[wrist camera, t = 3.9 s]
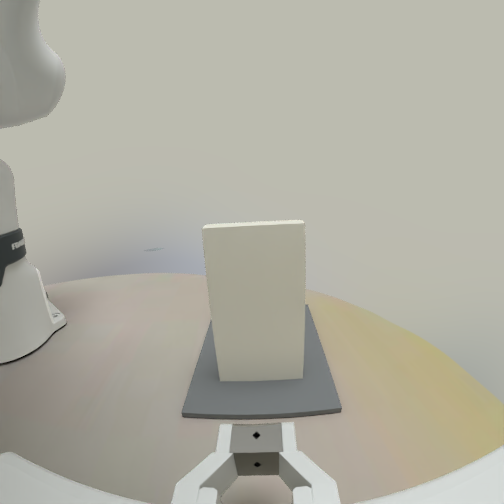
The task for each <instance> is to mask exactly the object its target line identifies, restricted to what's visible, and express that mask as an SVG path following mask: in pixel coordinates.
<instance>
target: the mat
mask: <svg viewBox="0 0 504 504" xmlns="http://www.w3.org/2000/svg"><path fill="white" fill-rule="evenodd" d="M341 409H342V407H341V403H340V400H339V397H338V394H337V391H336V388H335V385H334V381H333V378H332V375H331V372H330V369H329V366H328V363H327V360H326V357H325V354H324V351H323V348H322V345H321V342H320V339H319V336H318V333H317V330H316V327H315V325H314V322H313V319H312V316H311V313H310V310H309V307H308V305H305V337H304V364H303V378H301V379H287V380H267V381H220V377H219V371H218V364H217V357H216V350H215V343H214V335H213V328H212V320H211V322H210V325H209V328H208V331H207V334H206V337H205V341H204V344H203V347H202V350H201V353H200V356H199V359H198V362H197V365H196V368H195V372H194V375H193V378H192V381H191V384H190V387H189V390H188V394H187V397H186V400H185V403H184V406H183V410H182V415H183V417H194V418H215V419H265V418H286V417H300V416H311V415H320V414H329V413H337V412H341Z"/></svg>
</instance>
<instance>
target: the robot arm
mask: <svg viewBox="0 0 504 504" xmlns="http://www.w3.org/2000/svg"><path fill="white" fill-rule="evenodd" d="M39 2H40V0H0V129H1V128H7V127H13V126H19V125H22V124H25V123H28V122H31V121H34V120H37V119H40V118H43V117H46V116H48V115H49V114H50V113H51V112H52V111H53V109H54V108H55V107H56V105H57V103H58V102H59V100H60V98H61V96H62V93H63V90H64V86H65V68H64V65H63V62H62V60H61V59H60V57H59V56H58V55H57V54H56V53H55V52H54V51H53V50H52V49H51V48H50V47H49V46H48V45H47V43H46V42H45V40H44V38H43V36H42V34H41V31H40V28H39V22H38V8H39ZM25 254H26V249H25V240H24V237H23V233H22V230H21V229H20V228H19V226H18V218H17V209H16V199H15V187H14V177H13V173H12V171H11V169H10V167H9V166H8V165H7V164H6V163H5V162H4V161H2V160H1V159H0V363H4V362H8V361H12V360H15V359H17V358H20V357H22V356H24V355H26V354H28V353H30V352H32V351H33V350H35V349H37V348H38V347H39V346H41V345H42V344H43V343H44V342H45V341H46V340H47V339H48V338H49V337H50V336H51V334H52V333H53V332H54V331H56V330H58V329H59V328H61V327H62V326H64V325H65V324H66V323H67V321H66V318H65V316H64V315H63V314H62V313H61V312H60V311H59V310H58V309H57V308H56V307H55V306H54V305H53V304H52V303H51V302H50V301H49V300H48V299H47V298H48V296H47V293H46V292H45V291H44V287H43V283H42V280H41V276H40V272H39V270H38V269H36V268H35V266H33V265H31V264H30V263H29V262H28V261H27V259H26V257H25ZM252 475H279V476H280V478H281V479H282V480H283V481H284V482H285V484H286V485H287V486H288V487H289V488H290V490H291V491H292V492H293V494H292V503H291V504H340V499H339V494H338V489H337V485H336V481H335V480H333V479H332V478H331V477H330V476H329V475H327V474H326V473H325V472H324V471H323V470H322V469H321V468H319V467H318V466H317V465H316V464H315V463H314V462H313V461H312V460H310V459H309V458H308V457H307V456H306V455H305V454H304V453H303V452H302V451H297V444H296V435H295V427H294V423H293V422H285V423H266V424H220V426H219V433H218V439H217V445H216V452H212V453H211V454H210V455H209V456H207V457H206V458H205V459H204V460H203V461H202V462H201V463H200V464H198V465H197V466H196V467H195V468H194V469H193V470H192V471H190V472H189V473H188V474H187V475H186V476H184V477H183V478H182V479H181V480H180V481H178V482H177V483H176V486H175V490H174V494H173V498H172V502H171V504H222V502H221V499H220V497H221V496H222V495H223V494H224V493H225V491H226V490H227V489H228V488H229V487H230V486H231V484H232V483H233V482H234V481H235V480H236V478H237V477H238V476H252ZM0 504H152V503H147V502H142V501H138V500H134V499H130V498H126V497H122V496H118V495H115V494H111V493H108V492H105V491H101V490H98V489H95V488H92V487H89V486H86V485H84V484H81V483H78V482H76V481H73V480H70V479H68V478H65V477H63V476H61V475H58V474H56V473H54V472H51V471H49V470H47V469H45V468H43V467H40V466H38V465H36V464H34V463H32V462H30V461H28V460H26V459H25V458H23V457H21V456H19V455H17V454H15V453H13V452H5V453H1V454H0ZM352 504H504V445H503V446H501V447H499V448H498V449H496V450H494V451H492V452H491V453H489V454H487V455H485V456H483V457H481V458H480V459H478V460H476V461H474V462H472V463H470V464H468V465H466V466H464V467H461V468H459V469H457V470H455V471H453V472H450V473H448V474H446V475H443V476H441V477H439V478H436V479H434V480H431V481H428V482H426V483H423V484H420V485H417V486H415V487H412V488H409V489H406V490H402V491H399V492H396V493H393V494H389V495H386V496H382V497H378V498H374V499H370V500H366V501H362V502H357V503H352Z"/></svg>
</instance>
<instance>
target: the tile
mask: <svg viewBox="0 0 504 504" xmlns="http://www.w3.org/2000/svg"><path fill="white" fill-rule="evenodd" d="M202 236H203V248H204V258H205V268H206V277H207V286H208V295H209V304H210V312H211V320H212V328H213V335H214V343H215V350H216V357H217V364H218V371H219V377H220V381H267V380H287V379H301V378H303V364H304V337H305V223H304V222H303V221H302V220H285V221H263V222H243V223H225V224H208V225H205V226H204V227H203V228H202Z"/></svg>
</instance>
